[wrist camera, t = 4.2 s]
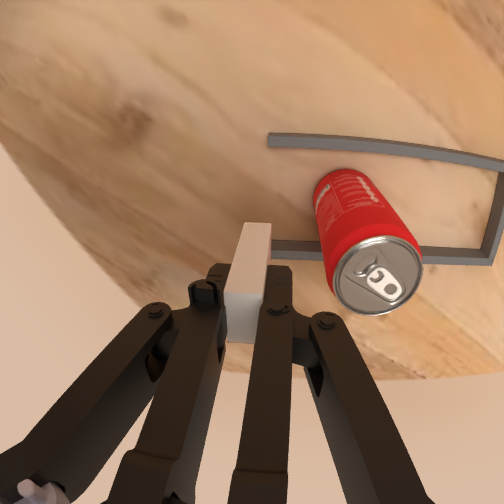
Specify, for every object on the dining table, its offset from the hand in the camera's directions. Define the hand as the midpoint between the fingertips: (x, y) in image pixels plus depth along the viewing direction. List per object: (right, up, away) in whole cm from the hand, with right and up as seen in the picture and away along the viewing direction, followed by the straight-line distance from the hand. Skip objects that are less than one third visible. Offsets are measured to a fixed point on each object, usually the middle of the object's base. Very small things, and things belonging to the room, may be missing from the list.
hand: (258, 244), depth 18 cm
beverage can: (+7, +4, +7) cm, 11 cm away
